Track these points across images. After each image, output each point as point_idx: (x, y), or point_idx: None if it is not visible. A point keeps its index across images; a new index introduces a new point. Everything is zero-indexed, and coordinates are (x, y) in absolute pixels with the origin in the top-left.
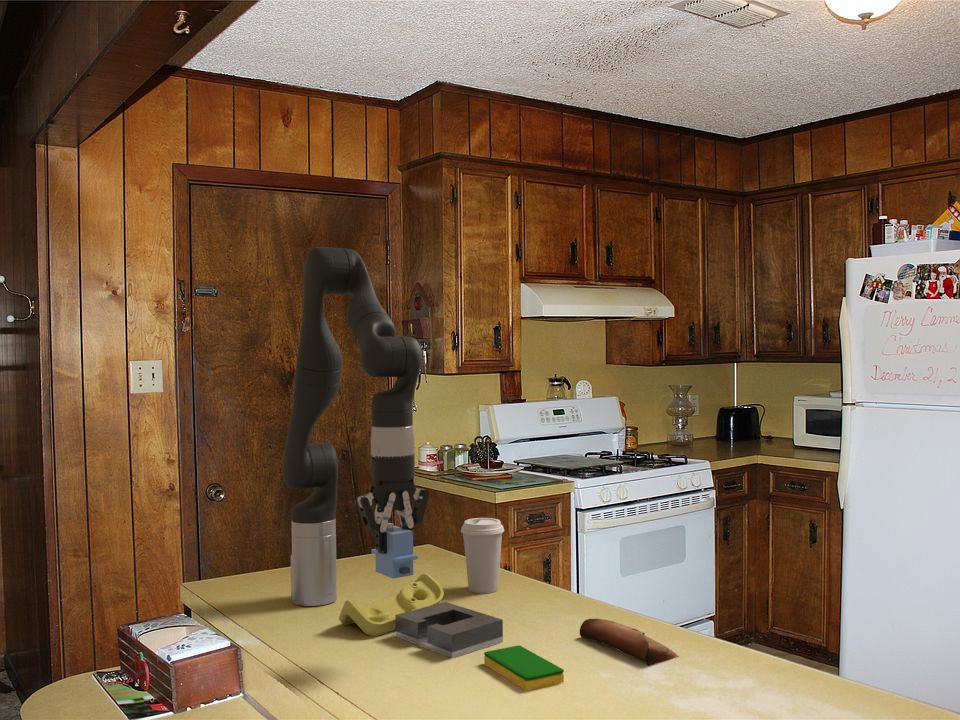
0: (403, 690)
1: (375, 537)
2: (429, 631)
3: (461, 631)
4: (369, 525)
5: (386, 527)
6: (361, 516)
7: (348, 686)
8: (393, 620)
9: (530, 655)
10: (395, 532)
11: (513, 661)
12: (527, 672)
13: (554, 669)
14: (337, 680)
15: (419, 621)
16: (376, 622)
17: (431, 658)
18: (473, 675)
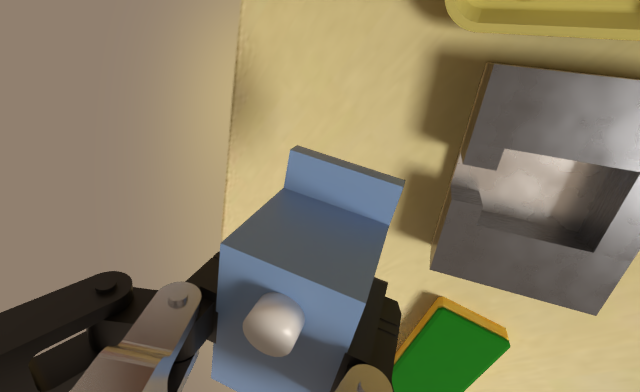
0: None
1: (200, 271)
2: (449, 201)
3: (460, 275)
4: (87, 335)
5: (191, 367)
6: (9, 315)
7: (246, 180)
8: (516, 33)
9: (466, 372)
10: (244, 374)
11: (424, 359)
12: (397, 382)
13: None
14: (247, 150)
15: (475, 161)
16: (461, 17)
17: (410, 214)
18: None
